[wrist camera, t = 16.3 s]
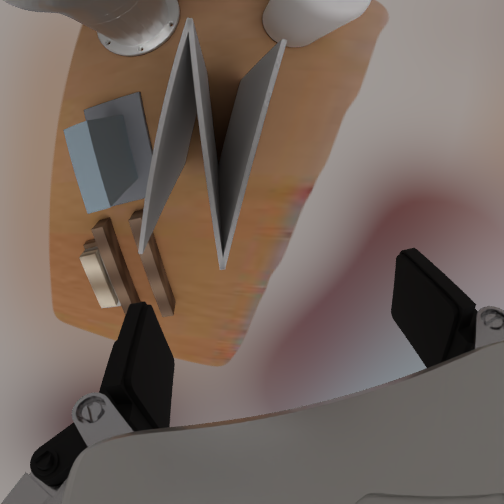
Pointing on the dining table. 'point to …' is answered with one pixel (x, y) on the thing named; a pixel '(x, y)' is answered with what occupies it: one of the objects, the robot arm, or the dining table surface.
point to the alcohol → (308, 18)
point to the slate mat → (130, 139)
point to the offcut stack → (98, 275)
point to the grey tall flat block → (208, 137)
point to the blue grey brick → (101, 160)
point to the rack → (118, 267)
